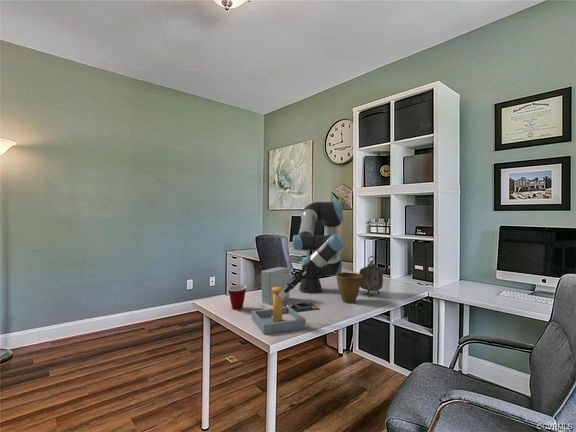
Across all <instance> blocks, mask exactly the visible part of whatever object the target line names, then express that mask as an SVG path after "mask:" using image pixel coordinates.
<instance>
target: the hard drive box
mask: <svg viewBox="0 0 576 432" xmlns="http://www.w3.org/2000/svg"><path fill="white" fill-rule="evenodd" d="M287 283H290V268H289V267H288V268H287V267H282V266H279V267H272V268H269V269H265V270H261V303H263V304H266V305H269V306H271V305H272V306H273V292H272V288H273V287H283V288H285V287H286V286H287ZM286 301H290V292H289V293H288V294H287V295H286V296H285V297H284V298H283V299H282V303H283V302H286Z"/></svg>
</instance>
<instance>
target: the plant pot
mask: <svg viewBox="0 0 576 432" xmlns="http://www.w3.org/2000/svg"><path fill="white" fill-rule="evenodd" d="M335 277H336V282H337V287H338V291H339V294H340V298H341V301H342V302H343V303H346V304H354V303H355V302H356V300H357V298H358V295H359V291H360V288H361V287H360V284H361V278H362V275H360V274H359V273H355V272H351V271H350V272H348V271H345V272H342V271H341V273H338V274H336V276H335Z"/></svg>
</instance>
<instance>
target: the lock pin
mask: <svg viewBox="0 0 576 432" xmlns="http://www.w3.org/2000/svg"><path fill="white" fill-rule="evenodd" d="M283 289H284V288H283V287H273V288H272V292H273V304H272V309H273V314H272V318H273V323H275V322H282V321H283V313H282V307H283V302H282V298H281V297H280V296H279V295H278V294H279V293H280V292H281V291H282V290H283Z"/></svg>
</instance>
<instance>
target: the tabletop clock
mask: <svg viewBox="0 0 576 432" xmlns="http://www.w3.org/2000/svg"><path fill="white" fill-rule="evenodd" d="M371 258H373V260H370V259H371ZM367 259H368V260H367V261H368V263H367V266H364V267H362V268H360V269H359V273H358V274H360V275H362V278H361V284H360V288H361V289H362V290H367V291H366V294H367V297H371V296H372V295H371V292H377V294H378V295H379V294H381V291H379V290H381V289H382V288H383V283H384V270H383V268H382V267H377V266H376V264H375V263H374V262H375V259H376V258H375V257H374V256H373V255H371V256H369V257H368V258H367Z"/></svg>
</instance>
